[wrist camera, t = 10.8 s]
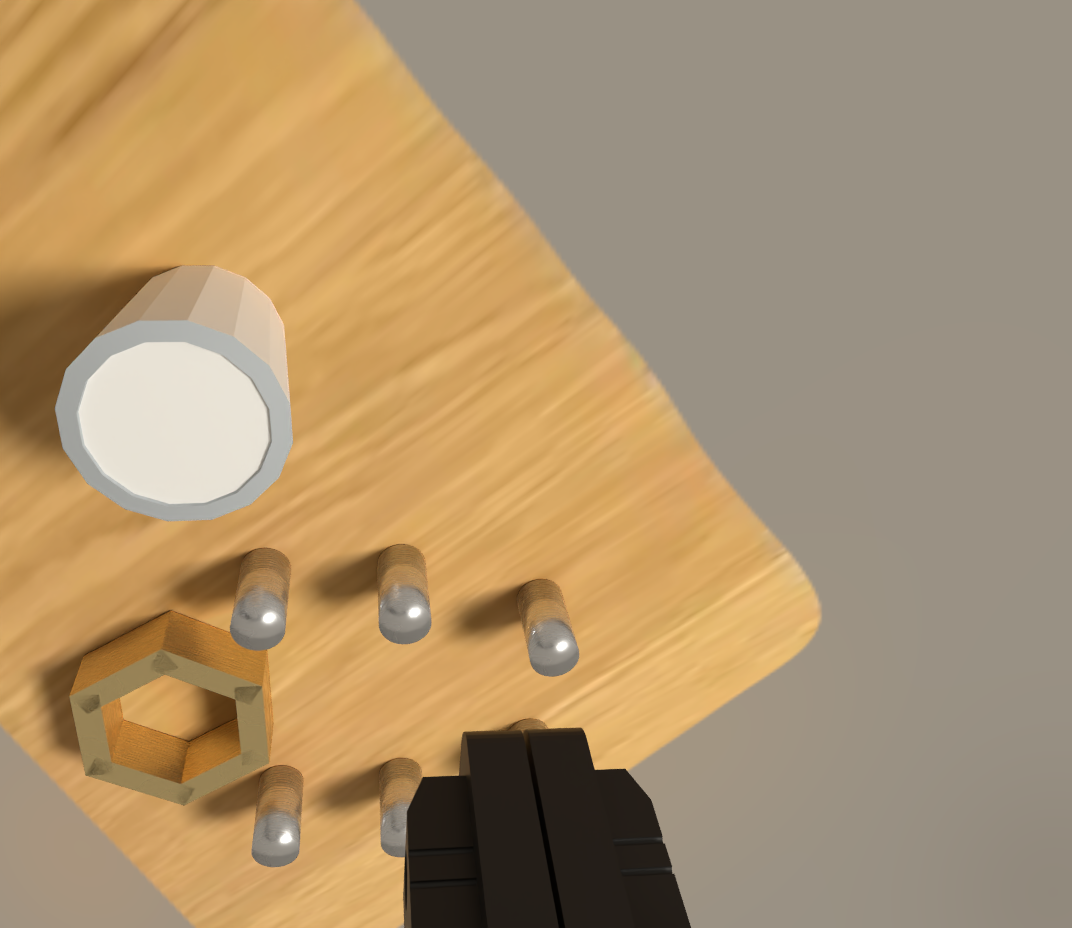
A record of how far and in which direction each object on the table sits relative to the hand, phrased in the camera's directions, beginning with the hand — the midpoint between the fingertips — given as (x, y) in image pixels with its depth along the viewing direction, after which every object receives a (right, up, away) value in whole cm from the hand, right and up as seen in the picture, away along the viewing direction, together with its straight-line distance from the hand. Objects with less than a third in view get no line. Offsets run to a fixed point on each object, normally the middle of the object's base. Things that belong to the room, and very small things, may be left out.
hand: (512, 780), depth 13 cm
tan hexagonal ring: (-15, -6, +31) cm, 35 cm away
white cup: (-12, +9, +24) cm, 28 cm away
